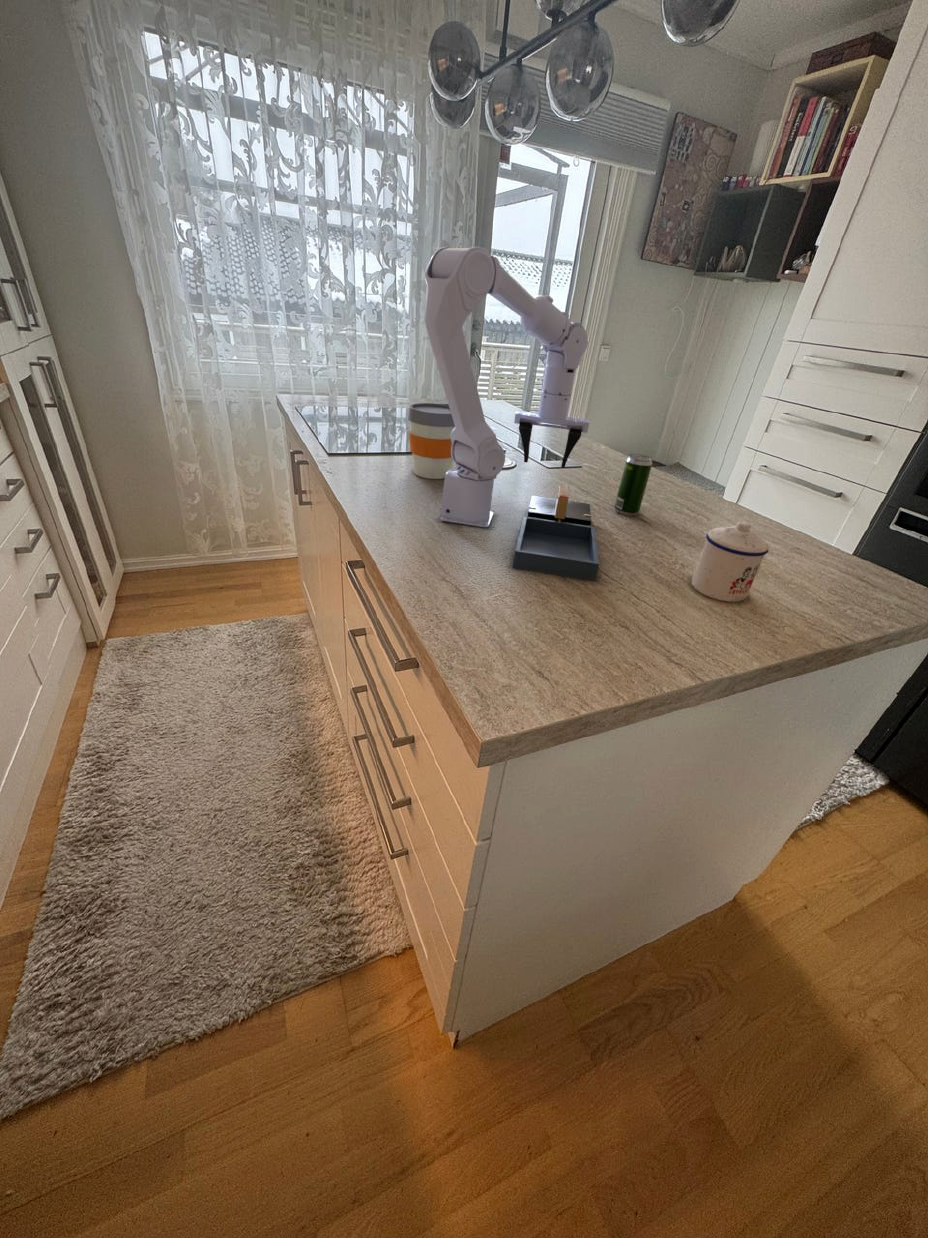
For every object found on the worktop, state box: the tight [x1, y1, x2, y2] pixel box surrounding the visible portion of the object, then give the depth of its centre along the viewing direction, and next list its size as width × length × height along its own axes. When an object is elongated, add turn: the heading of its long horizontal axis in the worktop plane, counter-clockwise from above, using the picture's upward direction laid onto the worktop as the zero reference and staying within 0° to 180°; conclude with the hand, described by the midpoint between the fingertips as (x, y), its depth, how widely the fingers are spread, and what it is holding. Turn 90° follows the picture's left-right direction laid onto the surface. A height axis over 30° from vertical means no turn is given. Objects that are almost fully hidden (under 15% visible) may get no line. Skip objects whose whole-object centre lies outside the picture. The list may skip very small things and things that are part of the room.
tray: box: [512, 516, 600, 582], centre depth 91 cm, size 14×17×3 cm
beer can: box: [614, 453, 653, 517], centre depth 111 cm, size 5×5×12 cm
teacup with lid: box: [691, 521, 770, 603], centre depth 83 cm, size 12×9×12 cm
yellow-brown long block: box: [555, 484, 570, 519], centre depth 99 cm, size 8×2×4 cm, turn 170°
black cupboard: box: [527, 495, 592, 526], centre depth 102 cm, size 14×12×4 cm
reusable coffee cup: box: [407, 402, 455, 480], centre depth 122 cm, size 13×13×15 cm
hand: (544, 463), depth 106 cm, fingers open, 7 cm apart
